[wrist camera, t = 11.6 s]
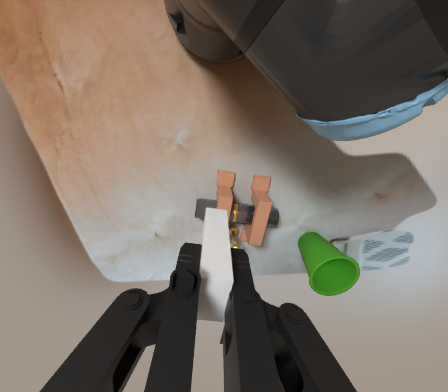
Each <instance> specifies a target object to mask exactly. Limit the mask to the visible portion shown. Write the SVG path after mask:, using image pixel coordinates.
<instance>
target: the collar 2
mask: <svg viewBox="0 0 448 392" xmlns="http://www.w3.org/2000/svg"><path fill="white" fill-rule="evenodd" d="M270 180H271V178H270V177H264V176H257V175H254V178H253V183H252V187H251V189H252V190H253V192H252V196H251V199H252V201H253V204H254V206H255V212H254V216H253V220H252V224H248V223H245V227H244V228H242V232H241V237H240V241H248V245H255V246H261V243H262V240H263V236H264V232H265V229H266V225H267V221H268V218H269V214H270V210H271V206H272V201H271V199H270V198H269V196H268V195H267V193H266V192H268V188H269V184H270Z"/></svg>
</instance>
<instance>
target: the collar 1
mask: <svg viewBox="0 0 448 392" xmlns="http://www.w3.org/2000/svg"><path fill="white" fill-rule="evenodd" d="M234 177H235V172H228V171H221V170H218V175H217V181H216V185H218V188H217V208H216V209H221V210H227V217H228V222H229V216H230V211H231V206H232V200H233V196H232V191H231V187H233V182H234Z"/></svg>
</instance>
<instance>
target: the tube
mask: <svg viewBox="0 0 448 392" xmlns="http://www.w3.org/2000/svg"><path fill="white" fill-rule="evenodd" d="M206 207H207V208H214V209H216V208H217V201H215V200H207V199H197V203H196V211H195V218H205V212H206ZM254 212H255V206H254V205H247V204H239V203H232V206H231V211H230V216H229V221H230V222H239V223H248V224H252V220H253V216H254ZM278 220H279V212H278V210H277V209H274V208H271V210H270V214H269V218H268V221H267V225H266V226H274V227H275V226H276V225H277V223H278Z"/></svg>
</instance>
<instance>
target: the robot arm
mask: <svg viewBox="0 0 448 392" xmlns="http://www.w3.org/2000/svg"><path fill="white" fill-rule="evenodd" d="M164 3H165V8H166V12H167V15H168V18H169V20H170V23H171V25H172V27H173V29H174V31H175V33H176V35H177V36H178V38H179V39H180V41H181V42H182V43H183V45H184V46H185V47H186V48H187V49H188V50H189V51H190V52H191V53H193V54H194V55H196V56H197V57H199V58H201V59H203V60H205V61H208V62H212V63H229V62H233V61H236V60H238V59H240V58H242V57H244V56H246V57H247V58H248V59H249V60H250V62H251V63H252V64H253V65H254V66H255V67H256V68H257V69H258V70H259V71H260V73H261V74H262V75H263V76H264V77H265V78H266V79H267V80H268V81H269V82H270V84H271V85H272V86H273V87H274V88H275V89H276V90H277V91H278V92H279V94H280V95H281V96H282V97H283V98H284V99H285V100H286V101H287V102H288V103H289V105H290V106H291V107H292V108H293V112H294V113H295V115H296V116H297V117H298V118H299V119H301V120H303V121H304V122H306V123H307V124H308V125H309V126H310V127H311V128H312V129H313V130H314V131H315V132H316V133H317V134H319V135H320V136H323V137H325V138H327V139H331V140H336V141H350V140H357V139H363V138H367V137H371V136H374V135H377V134H381V133H384V132H386V131H389V130H391V129H394V128H396V127H398V126H400V125H402V124H404V123H406V122H408V121H410V120H412V119H414V118H415V117H417V116H419V115H420V114H421V113H422V110H423V109H422V108H423V107H425V106H430V105H434V104H436V103H437V102H438V101H440V100H441V99H442V98H443V97H444V96H445V95H446V94H447V93H448V0H164ZM224 317H225V326H224V330H223V333H222V337H221V341H220V344H222V343H223V358H224V392H357V391H356V389H355V388H354V386H353V385H352V383H351V382H350V380H349V379H348V377H347V376H346V374H345V373H344V371H343V370H342V368H341V366H340V365H339V363H338V362H337V360H336V359H335V357H334V356H333V354H332V353H331V351H330V350H329V348H328V346H327V345H326V343H325V342H324V340H323V339H322V337H321V336H320V334H319V333H318V331H317V330H316V328H315V327H314V325H313V324H312V322H311V320H310V319H309V317H308V316H307V314H306V313H305V312H304V311H303V310H302V309H301V308H300V307H298V306H297V305H294V304H292V303H284V304H282V305H281V306H280V307H279V308H278V307H276V306H274V305H271V304H268V303H267V302H265V301H263V300H262V299H261V297H260V295H259V294H258V293H257V292H256V290H255V288H254V283H253V278H252V273H251V269H250V263H249V258H248V255H247V253H246V252H245V251H244V249H238V248H230V238H229V228H228V217H227V210H221V209H214V208H207V207H206V212H205V218H204V225H203V231H202V237H201V244H193V243H185V244H184V245H183V246H182V247H181V248H180V252H179V256H178V261H177V265H176V269H175V270H174V271H173V272H172V274H171V276H170V285H169V287H168V288H167V289H166V290H164V291H162V292H159V293H156V294H151V295H148V294H147V292H146V291H144V290H142V289H137V288H135V289H129V290H126V291H124V292H123V293H121V294H120V295H119V296H118V297H117V298H116V299H115V300H114V302H113V303H112V304H111V305H110V307H109V308H108V309H107V310H106V311H105V313H104V314H103V315H102V316H101V317H100V319H99V320H98V321H97V322H96V324H95V325H94V326H93V327H92V328H91V330H90V331H89V332H88V333H87V335H86V336H85V337H84V338H83V339H82V341H81V342H80V343H79V344H78V346H77V347H76V348H75V349H74V350H73V352H72V353H71V354H70V355H69V356H68V358H67V359H66V360H65V361H64V363H63V364H62V365H61V366H60V368H59V369H58V370H57V371H56V372H55V374H54V375H53V376H52V377H51V379H50V380H49V381H48V382H47V383H46V385H45V386H44V387H43V388H42V389H41V391H40V392H122V391H123V389H124V387H125V386H126V384H127V382H128V380H129V378H130V376H131V374H132V372H133V370H134V368H135V367H136V365H137V363H138V361H139V359H140V357H141V355H142V353H143V352H144V350H145V348H146V347H147V346H150V345H154V344H156V346H155V349H154V353H153V358H152V362H151V366H150V370H149V374H148V378H147V383H146V386H145V390H144V392H190V391H191V380H192V370H193V358H194V346H195V335H196V322H197V320H208V321H219V322H223V319H224Z"/></svg>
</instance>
